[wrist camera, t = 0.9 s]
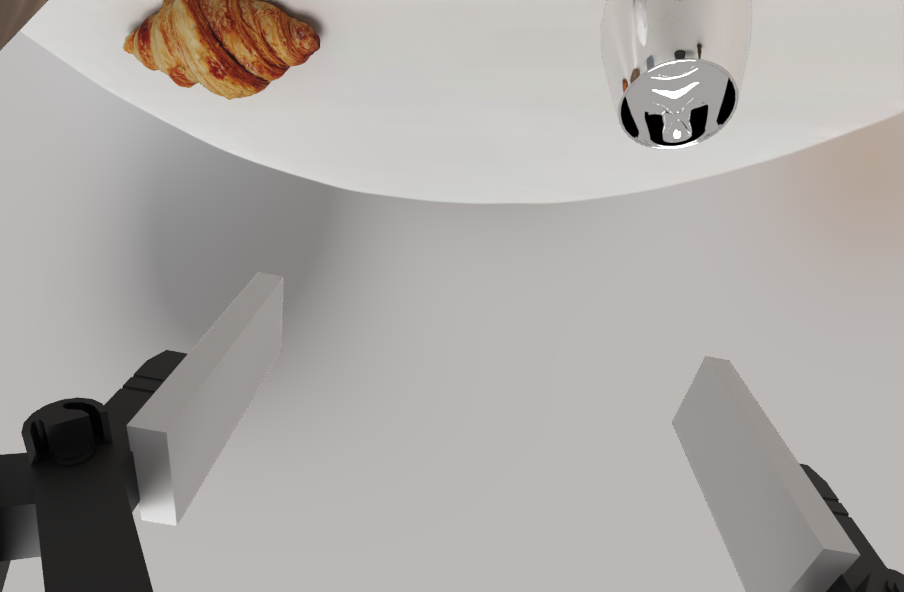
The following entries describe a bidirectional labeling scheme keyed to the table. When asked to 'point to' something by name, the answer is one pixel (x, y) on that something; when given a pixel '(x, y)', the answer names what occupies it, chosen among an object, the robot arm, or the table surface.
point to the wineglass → (675, 66)
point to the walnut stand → (16, 16)
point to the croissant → (222, 44)
